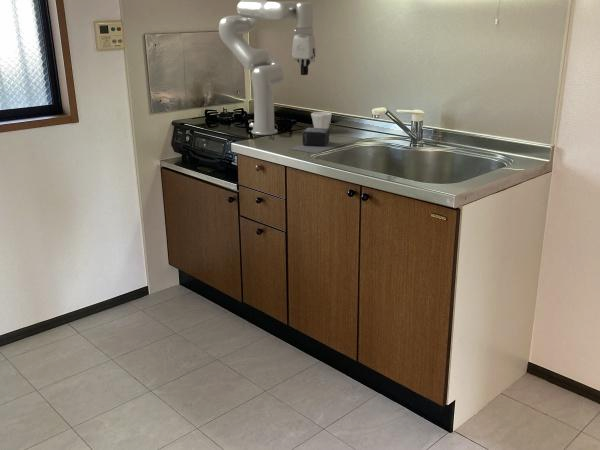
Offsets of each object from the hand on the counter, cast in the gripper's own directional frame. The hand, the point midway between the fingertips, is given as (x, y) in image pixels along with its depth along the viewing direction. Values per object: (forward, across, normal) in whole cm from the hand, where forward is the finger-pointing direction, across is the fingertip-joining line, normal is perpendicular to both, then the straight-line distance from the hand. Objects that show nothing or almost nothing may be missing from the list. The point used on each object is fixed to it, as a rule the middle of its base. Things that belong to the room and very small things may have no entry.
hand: (304, 74), depth 280 cm
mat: (+29, +15, -10) cm, 34 cm away
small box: (+26, +6, -9) cm, 28 cm away
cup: (+29, -3, +18) cm, 35 cm away
